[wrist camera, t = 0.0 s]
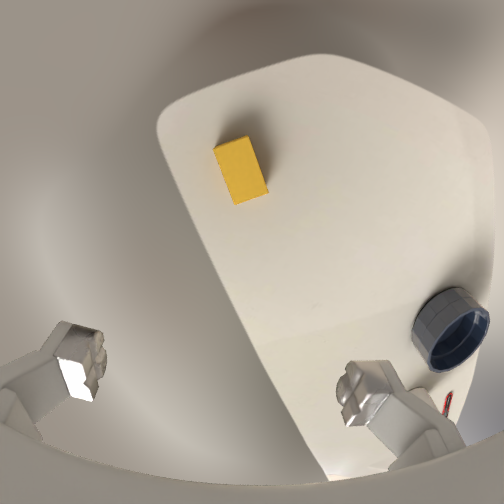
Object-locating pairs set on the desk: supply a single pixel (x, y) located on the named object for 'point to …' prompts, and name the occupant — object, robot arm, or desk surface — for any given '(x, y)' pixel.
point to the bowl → (450, 329)
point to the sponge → (240, 169)
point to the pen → (446, 410)
